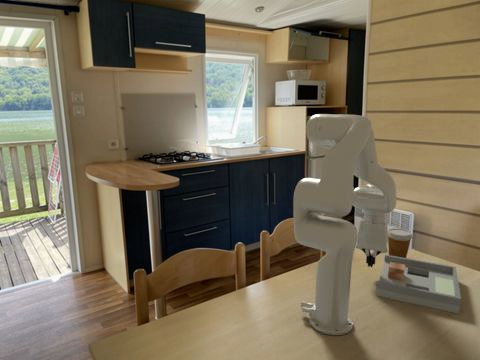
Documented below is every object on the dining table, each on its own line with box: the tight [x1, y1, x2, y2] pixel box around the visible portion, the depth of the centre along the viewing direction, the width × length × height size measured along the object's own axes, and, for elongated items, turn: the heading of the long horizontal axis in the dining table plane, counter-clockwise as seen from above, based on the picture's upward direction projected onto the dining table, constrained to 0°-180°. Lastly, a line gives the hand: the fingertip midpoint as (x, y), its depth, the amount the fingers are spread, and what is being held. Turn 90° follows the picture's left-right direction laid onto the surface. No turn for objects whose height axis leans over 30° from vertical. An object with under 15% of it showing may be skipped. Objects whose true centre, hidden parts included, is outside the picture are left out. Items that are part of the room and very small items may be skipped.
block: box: [388, 262, 405, 281], centre depth 131 cm, size 5×5×4 cm
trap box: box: [375, 254, 462, 315], centre depth 128 cm, size 24×25×5 cm
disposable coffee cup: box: [387, 227, 413, 258], centre depth 151 cm, size 10×10×12 cm
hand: (370, 265), depth 135 cm, fingers closed
